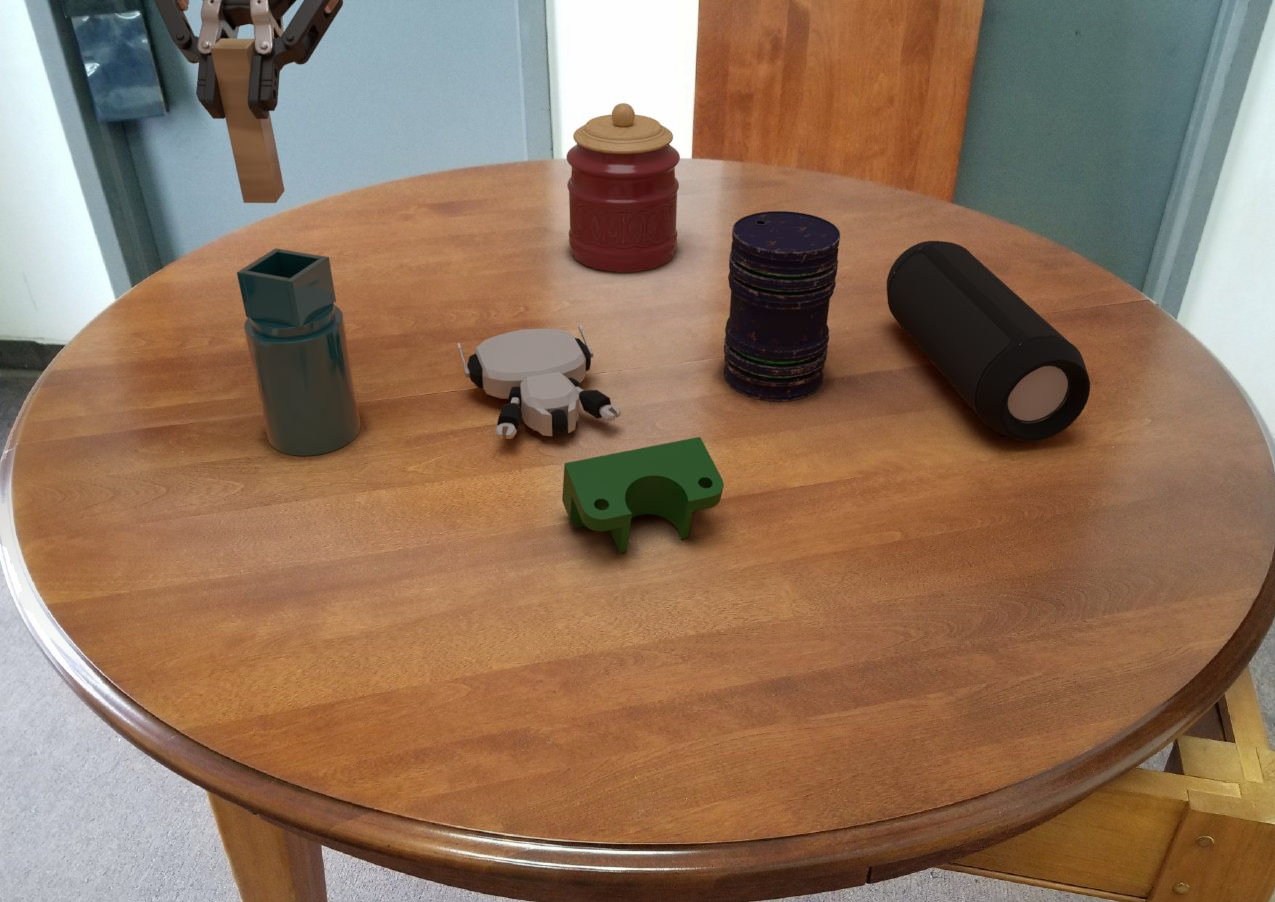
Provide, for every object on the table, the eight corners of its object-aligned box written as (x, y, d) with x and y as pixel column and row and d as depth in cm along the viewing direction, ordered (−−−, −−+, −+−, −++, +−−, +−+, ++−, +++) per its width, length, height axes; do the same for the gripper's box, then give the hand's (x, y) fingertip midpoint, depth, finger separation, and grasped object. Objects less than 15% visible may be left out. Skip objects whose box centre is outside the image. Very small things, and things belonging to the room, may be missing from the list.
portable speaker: (1083, 445, 95) (1113, 345, 89) (979, 456, 93) (1002, 355, 87) (958, 317, 115) (976, 229, 110) (871, 324, 114) (884, 235, 108)
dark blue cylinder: (844, 375, 105) (863, 230, 96) (784, 413, 99) (799, 263, 90) (762, 341, 110) (774, 202, 102) (701, 376, 104) (708, 231, 96)
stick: (252, 190, 80) (220, 38, 74) (285, 190, 80) (255, 38, 74) (243, 203, 78) (209, 47, 72) (276, 203, 78) (245, 47, 72)
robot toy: (628, 442, 96) (579, 354, 107) (630, 400, 93) (579, 315, 104) (494, 467, 92) (457, 374, 103) (491, 424, 90) (454, 333, 101)
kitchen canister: (612, 223, 137) (611, 81, 127) (697, 247, 130) (704, 100, 120) (546, 256, 128) (540, 106, 118) (635, 284, 121) (636, 128, 112)
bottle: (249, 445, 93) (210, 276, 84) (302, 401, 100) (271, 239, 91) (328, 463, 91) (296, 292, 82) (377, 417, 97) (353, 252, 89)
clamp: (605, 589, 85) (566, 533, 77) (582, 532, 88) (543, 473, 81) (742, 523, 84) (716, 460, 77) (713, 468, 88) (686, 404, 81)
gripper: (132, -149, 73) (108, 84, 70) (337, -148, 73) (322, 85, 70) (178, -75, 80) (158, 139, 77) (364, -74, 80) (351, 140, 77)
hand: (236, 112), depth 73 cm, fingers closed on stick, 2 cm apart
